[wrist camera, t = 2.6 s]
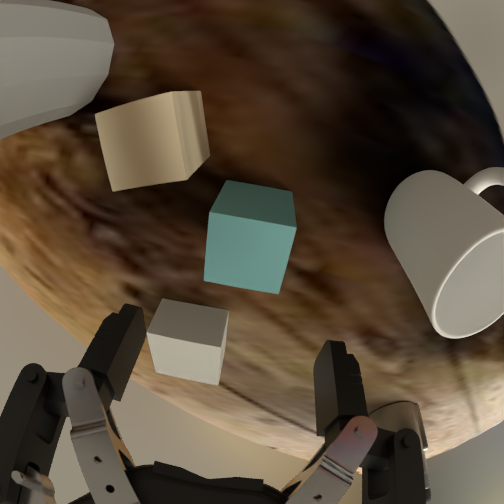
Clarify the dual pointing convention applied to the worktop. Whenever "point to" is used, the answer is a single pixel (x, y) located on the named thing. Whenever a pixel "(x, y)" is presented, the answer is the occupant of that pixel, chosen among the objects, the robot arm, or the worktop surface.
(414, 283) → the mug
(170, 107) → the beech block
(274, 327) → the worktop surface
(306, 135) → the worktop surface
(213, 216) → the teal cube
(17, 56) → the jar
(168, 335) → the pedestal block
